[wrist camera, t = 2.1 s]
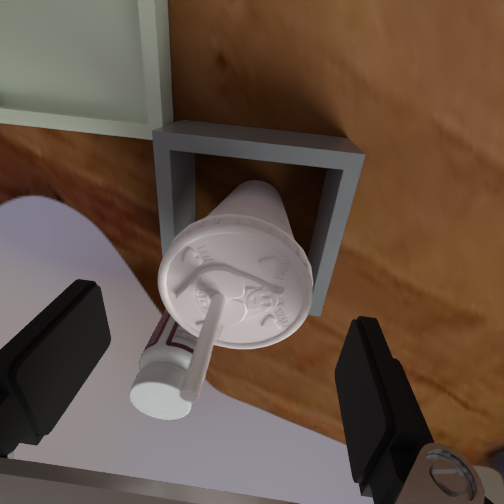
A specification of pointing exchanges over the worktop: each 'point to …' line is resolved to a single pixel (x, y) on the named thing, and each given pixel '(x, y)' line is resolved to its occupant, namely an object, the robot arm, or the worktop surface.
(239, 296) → the smoothie
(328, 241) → the grey square tube frame
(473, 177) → the worktop surface
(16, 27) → the tray
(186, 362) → the pill bottle
